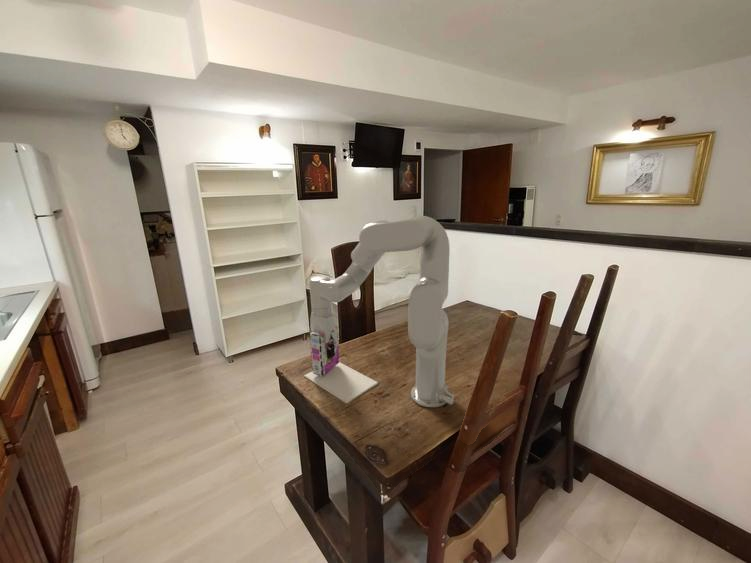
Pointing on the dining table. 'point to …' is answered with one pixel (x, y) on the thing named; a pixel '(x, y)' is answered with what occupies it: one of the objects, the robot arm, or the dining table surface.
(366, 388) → the mat
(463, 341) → the dining table surface
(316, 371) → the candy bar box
